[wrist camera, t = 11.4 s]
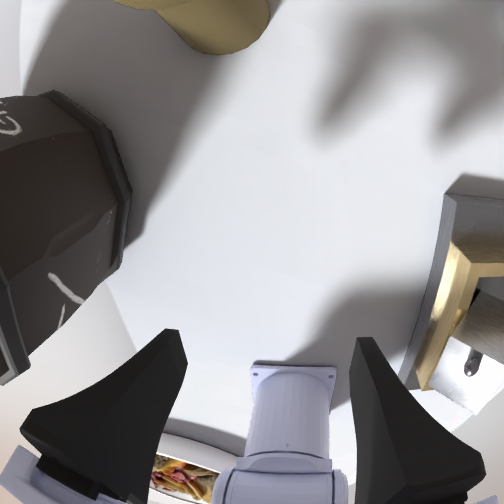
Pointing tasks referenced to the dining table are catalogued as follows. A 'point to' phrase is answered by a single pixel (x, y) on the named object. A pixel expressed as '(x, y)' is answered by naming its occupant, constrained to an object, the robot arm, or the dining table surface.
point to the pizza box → (188, 469)
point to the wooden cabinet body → (456, 279)
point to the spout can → (473, 355)
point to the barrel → (54, 218)
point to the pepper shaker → (211, 21)
